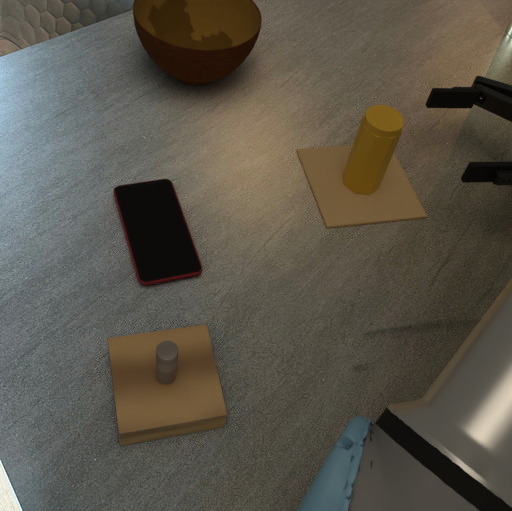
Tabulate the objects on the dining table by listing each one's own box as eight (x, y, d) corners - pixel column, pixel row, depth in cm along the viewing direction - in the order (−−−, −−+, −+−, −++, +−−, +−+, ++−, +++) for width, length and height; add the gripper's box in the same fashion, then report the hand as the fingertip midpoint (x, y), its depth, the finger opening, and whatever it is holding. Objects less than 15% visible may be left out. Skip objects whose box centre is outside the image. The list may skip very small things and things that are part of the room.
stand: (224, 427, 61) (233, 391, 55) (120, 446, 59) (116, 411, 52) (204, 338, 67) (210, 297, 60) (109, 352, 64) (104, 310, 58)
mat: (426, 218, 82) (427, 216, 82) (326, 228, 79) (327, 226, 78) (388, 144, 90) (389, 142, 90) (296, 150, 86) (296, 148, 86)
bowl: (250, 117, 89) (260, 57, 81) (125, 102, 88) (123, 40, 80) (253, 45, 100) (262, -14, 92) (142, 30, 98) (141, -31, 91)
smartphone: (139, 284, 68) (111, 185, 76) (139, 289, 69) (112, 191, 77) (204, 271, 71) (170, 177, 79) (203, 276, 71) (170, 182, 79)
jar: (379, 196, 83) (406, 133, 74) (344, 192, 82) (367, 128, 74) (376, 170, 86) (401, 107, 77) (341, 166, 85) (363, 102, 77)
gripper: (624, 224, 78) (470, 229, 74) (540, 95, 93) (407, 93, 89) (663, 182, 72) (498, 185, 68) (567, 51, 87) (426, 47, 83)
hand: (446, 133), depth 78 cm, fingers open, 13 cm apart
